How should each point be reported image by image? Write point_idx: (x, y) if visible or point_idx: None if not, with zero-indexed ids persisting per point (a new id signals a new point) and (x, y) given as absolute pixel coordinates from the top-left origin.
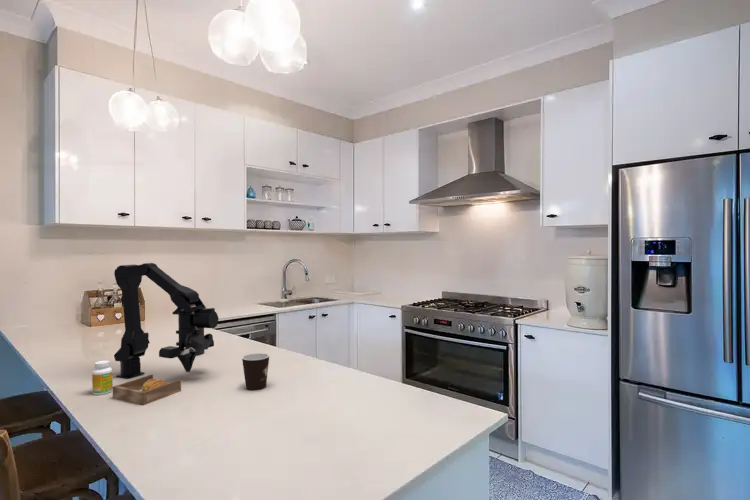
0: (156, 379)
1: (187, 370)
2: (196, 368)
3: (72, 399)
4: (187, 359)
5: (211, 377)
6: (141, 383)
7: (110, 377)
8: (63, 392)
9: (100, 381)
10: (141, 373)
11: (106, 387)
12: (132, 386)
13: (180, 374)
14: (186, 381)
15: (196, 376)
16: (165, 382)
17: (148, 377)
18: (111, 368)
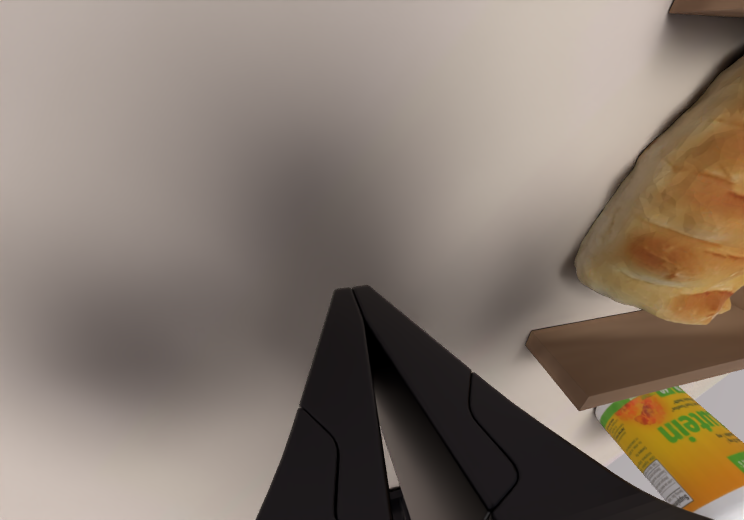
0: (673, 302)
1: (381, 306)
2: (66, 448)
3: (690, 392)
4: (559, 472)
5: (54, 4)
6: (636, 347)
7: (712, 450)
8: (612, 456)
9: (733, 434)
10: (396, 497)
11: (683, 398)
12: (690, 335)
13: (272, 399)
14: (390, 208)
15: (212, 260)
16: (709, 195)
17: (615, 379)
18: (740, 518)
